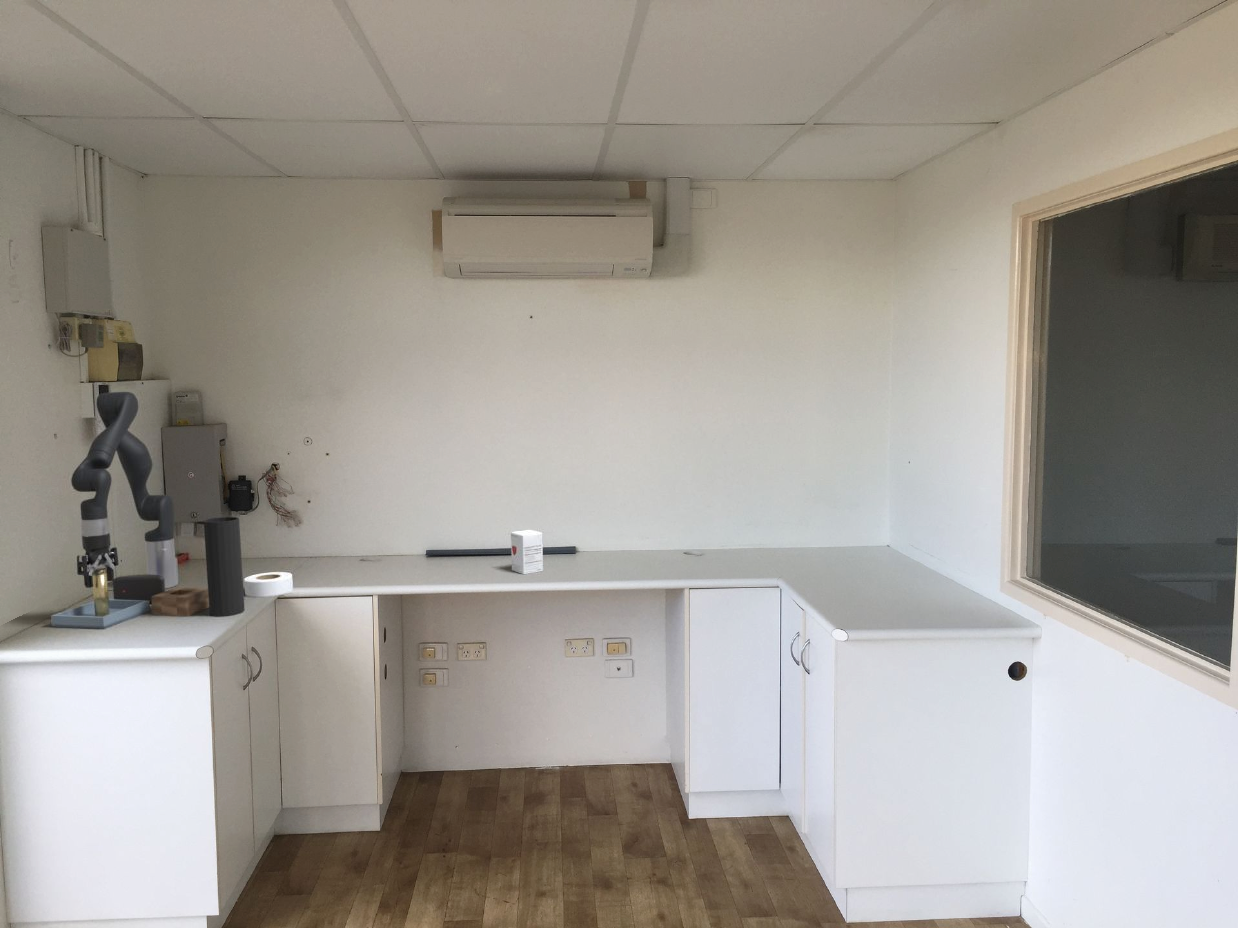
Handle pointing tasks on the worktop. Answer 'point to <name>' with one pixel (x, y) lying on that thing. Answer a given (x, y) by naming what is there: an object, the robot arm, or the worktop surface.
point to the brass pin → (100, 592)
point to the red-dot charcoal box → (138, 587)
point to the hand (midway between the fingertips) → (99, 584)
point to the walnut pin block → (180, 601)
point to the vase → (224, 566)
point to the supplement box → (527, 551)
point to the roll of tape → (268, 584)
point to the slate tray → (87, 619)
